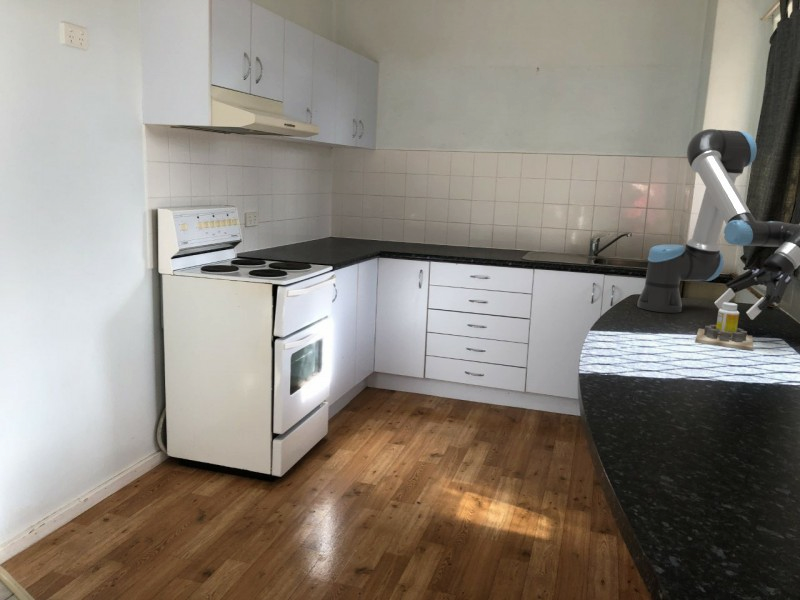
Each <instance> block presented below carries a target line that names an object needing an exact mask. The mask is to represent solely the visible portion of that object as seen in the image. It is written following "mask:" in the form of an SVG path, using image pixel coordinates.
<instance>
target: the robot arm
mask: <svg viewBox="0 0 800 600" xmlns="http://www.w3.org/2000/svg"><path fill="white" fill-rule="evenodd" d="M687 145H688V146H687V150H686V157H687V162H688V163H689V164H688V165H689V166H690V168H691V169H692V171H693V172H695V173H697V174H698V175H699V177H700V179H701V181H702V183H703V185H704V186H705V190H704V193H703V198H702V201H701V205H700V208H699V212H698V215H697V219H696V223H695V226H694V230H693V234H692V238H690V239H688V240H687V241H686V242H685V245H682V244H675V243H674V244H669V243H668V244H667V243H666V244H659V245H655V246H652V247H650V249H649V252H648V253H649V254H648V257H647V267H646V274H645V281H644V282H645V284H644V288H643V289H642V291H641V293H640V296H639V298H638V300H637V304H636V305H637V307H638V308H639V309H642V310H646V311H651V312H659V313H666V314H667V313H669V314H670V313H671V314H674V313H675V314H677V313H681V312H682V309H683V304H682V299H681V294H680V284H681V282H699V283H701V282H703V283H704V282H709V281H712V280H715V279H716V278H718V277H719V275H721V272H722V271H723V269H724V264H725V261H724V260H723V259H724V255H723V254H722V253H721V247H720V245H719V243H718V242H719V239H720V236H721V231H722V228H723V225H724V223H725V224H726V225H725V227H724V229H723V234H724V240H725V242H726V243H728V244H729V245H733V246H740V247H746V246H748V247H749V246H751V247H756V246H757V247H770V248H771V247H773V248H775V247H776V248H777V247H778V248H777V249H776V250H775V251H774V253H772V254H771V255H770V256H769V257H768V258H767V259H766V260H765V261H764V265H763V267H761V268H760V269H759V268H757V266H753V267H751V268H750V269H749V270H747V271H746V272H744V273H742V274H740V275H739V276H737V277H735V278H734V279H731V280H730V281H728V282H726V283H725V286H726V288H727V289H726V290H725V291H724V292H723V293H722V294H721V295H720V297H719V298H718V299H716V300H715V302H714V305H715V306H716V308H717V309H718V310H719V309H723V308H722V304H723V303H724V302H728V303H730V301H731V300H732V299H733V298H734V297H735V296H736V293H737V292H738V293H739V292H740V291H743V290H745V289H749V288H751V287H752V286H765V287H766V289H765V295H764V294H763V295H764V297H763V296H761V298H760V299H758V300H757V301H756V303H754V304H753V305H752V306H751V307H750V308H749V309H748V310H747V311H746V315H747V316H748V318H749V319H750V320H754V319H755V318H756V317H757V316H759V314H760V313H761V312H763V311H764V310H765V309H766V308H768V307H769V306H770V305H772V304H774V303H776V304H777V305H779V304H780V303H781V302H782V299H783V296H784V295H785V292H786V290H787V288H788V285H789V284H790V282H792V278H791V276H790V275H791V274H793V272H794V271H795V270H796V269H798V268H799V266H800V224H798V223H797V224H796V223H789V222H782V221H779V220H778V221H776V220H773V221H772V220H770V221H758V220H756V219H755V218H754V216H753V214H752V213H751V211H750V210H749V207H748V205H747V203H746V202H745V201H744V199H743V197H742V195H741V193H740V191H739V190H738V188H737V187H736V185H735V183H736V180H737V178H738V177H739V176H741V175H742V174H743V173H744V170H745V168H747V167H749V166H750V165H751V164H752V163H753V162H754V161H755V159H756V156H757V151H758V149H757V143H756V141H755V138H754V137H753V136H752V134H750V133H749V132H745V131H740V130H729V129H728V130H727V129H726V130H725V129H716V128H715V129H714V128H708V129H704V130H701V131H699V132H698V133H696V134H695V135H694V136H692V137H691V140H690V141H689V143H688V144H687Z"/></svg>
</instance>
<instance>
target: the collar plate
mask: <svg viewBox="0 0 800 600" xmlns="http://www.w3.org/2000/svg"><path fill="white" fill-rule="evenodd" d="M716 325H717V324H708V325H705V327H704V328H698V330H697V333H696V336H695V341H694V342H695V343H698V344H705V345H710V346H711V345H712V346H717V345H718V347H723V348H724V347H725V348H731V349H739V350H745V351H754V340H753V339H754V338H753V335H749V334H748V331H746V330H744V329H742V328H739V327H737V331H736V332H734V333H733V337H732V339H729V337H730V332H724V331H721V335H720V338H719V337H717V335H718V330H716Z"/></svg>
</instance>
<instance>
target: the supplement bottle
mask: <svg viewBox="0 0 800 600" xmlns="http://www.w3.org/2000/svg"><path fill="white" fill-rule="evenodd" d="M739 317H740V312H739V311H738V304H737V303H734V302H724V303H723V304H722V308H721V309H718V312H717V317H716V318H717V319H716V324H715V325H716V330H718V335H717V337H719V338H720V335H721V331H724V332H730V337H729V339H732V337H733V333H734V332H736V331H737V328H738V323H739Z"/></svg>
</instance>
